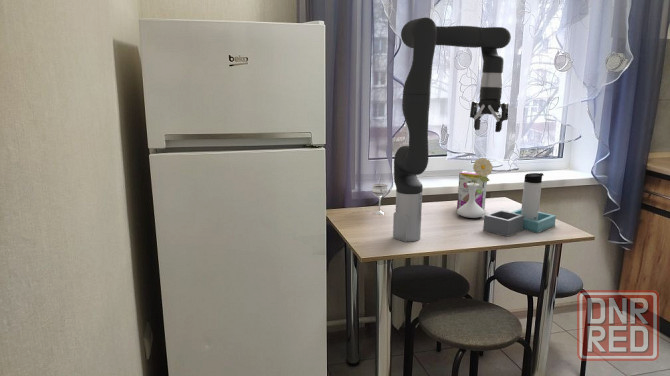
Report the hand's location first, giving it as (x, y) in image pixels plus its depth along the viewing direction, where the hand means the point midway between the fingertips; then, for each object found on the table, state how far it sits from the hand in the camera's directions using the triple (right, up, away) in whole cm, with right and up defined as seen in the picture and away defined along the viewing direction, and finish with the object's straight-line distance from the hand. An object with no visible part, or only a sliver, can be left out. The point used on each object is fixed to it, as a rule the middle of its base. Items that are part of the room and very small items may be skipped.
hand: (487, 130), depth 172 cm
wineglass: (-37, -32, +28) cm, 57 cm away
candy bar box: (+4, -31, +34) cm, 46 cm away
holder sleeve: (+8, -37, +5) cm, 38 cm away
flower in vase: (+1, -33, +23) cm, 40 cm away
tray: (+20, -36, +12) cm, 43 cm away
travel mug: (+20, -35, +11) cm, 42 cm away
